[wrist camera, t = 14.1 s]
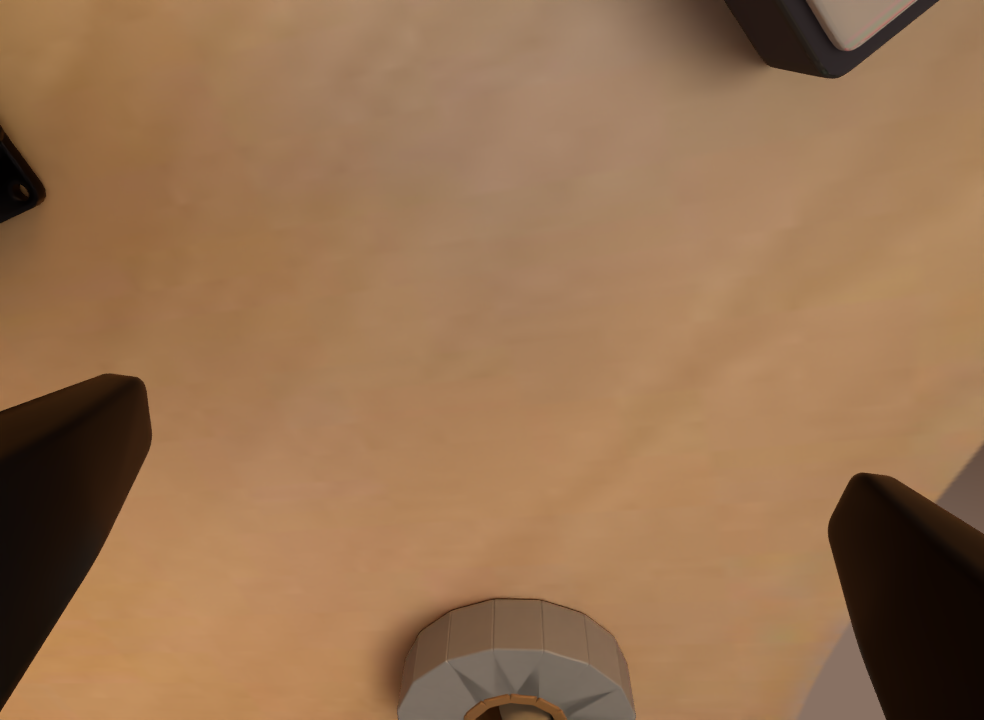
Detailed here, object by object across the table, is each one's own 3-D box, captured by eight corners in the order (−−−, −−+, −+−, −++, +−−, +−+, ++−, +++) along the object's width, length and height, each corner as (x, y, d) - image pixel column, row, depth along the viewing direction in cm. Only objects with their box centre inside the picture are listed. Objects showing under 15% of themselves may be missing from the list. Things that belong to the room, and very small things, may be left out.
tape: (459, 757, 34) (455, 812, 32) (367, 631, 30) (355, 685, 27) (652, 714, 32) (662, 771, 30) (584, 573, 28) (590, 627, 25)
